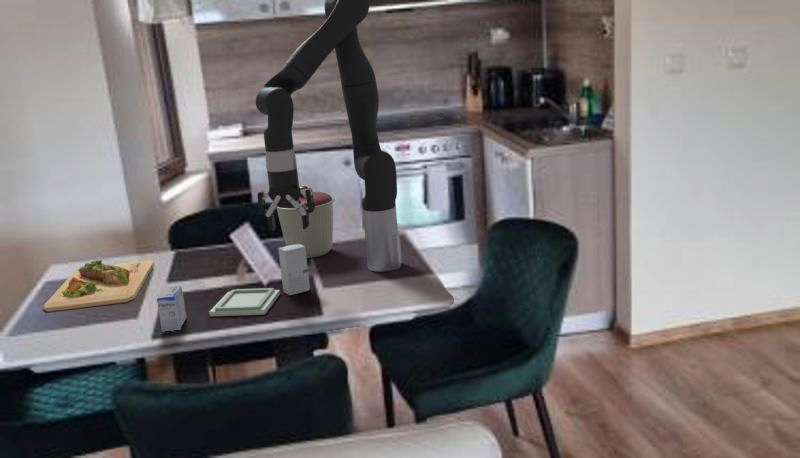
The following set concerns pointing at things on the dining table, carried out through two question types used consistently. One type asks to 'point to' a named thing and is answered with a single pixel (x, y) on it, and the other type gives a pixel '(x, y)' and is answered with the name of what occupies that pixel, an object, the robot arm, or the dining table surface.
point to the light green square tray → (245, 302)
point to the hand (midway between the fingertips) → (289, 229)
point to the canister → (318, 230)
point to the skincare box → (294, 269)
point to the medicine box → (171, 308)
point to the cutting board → (100, 285)
